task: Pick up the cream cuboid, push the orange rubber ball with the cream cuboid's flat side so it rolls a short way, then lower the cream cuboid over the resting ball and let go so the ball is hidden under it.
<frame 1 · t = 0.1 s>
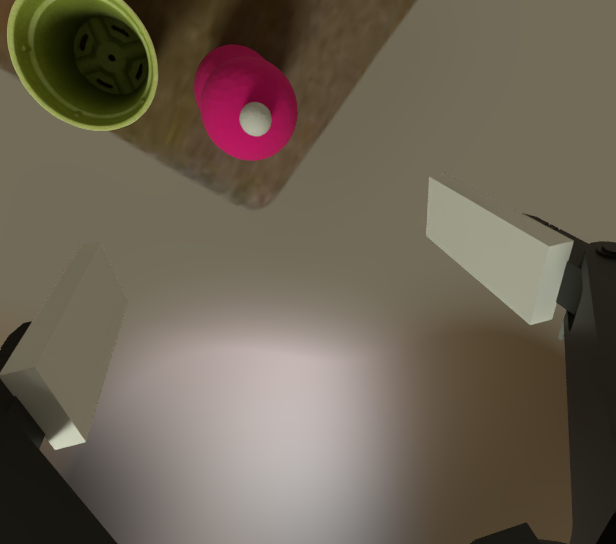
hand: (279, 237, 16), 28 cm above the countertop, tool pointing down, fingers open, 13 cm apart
pepper mill: (233, 87, 38), on the countertop
plant pot: (112, 56, 34), on the countertop
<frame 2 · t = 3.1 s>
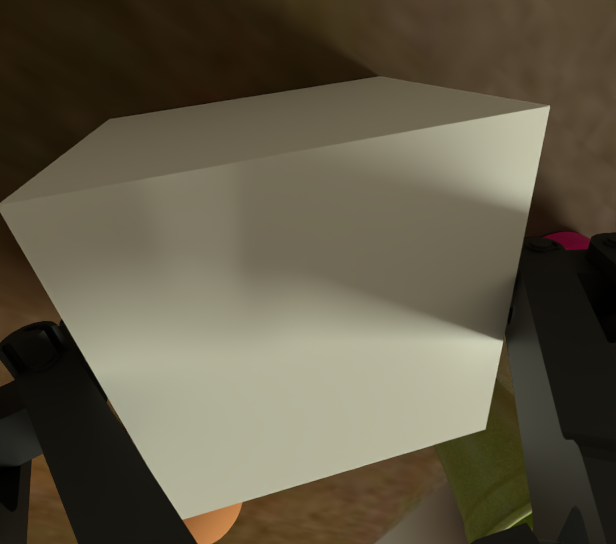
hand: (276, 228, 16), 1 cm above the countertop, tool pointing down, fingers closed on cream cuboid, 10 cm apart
pepper mill: (539, 277, 23), on the countertop
plant pot: (462, 405, 28), on the countertop
ball: (198, 493, 21), on the countertop
cream cuboid: (273, 221, 17), on the countertop, touching gripper
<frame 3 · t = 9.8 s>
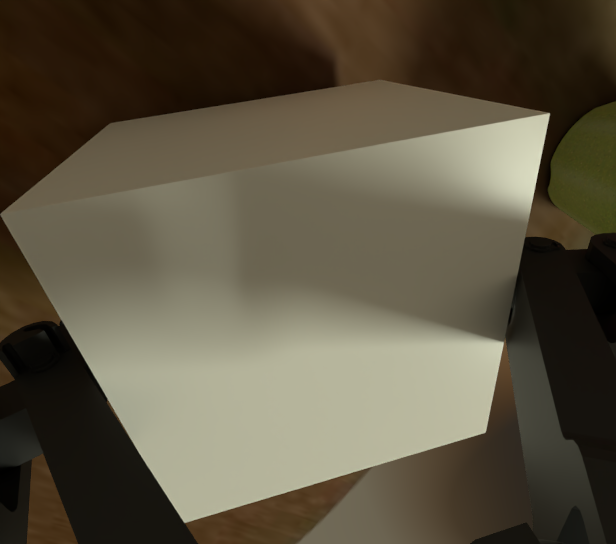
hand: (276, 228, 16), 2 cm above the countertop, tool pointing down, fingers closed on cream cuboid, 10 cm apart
plant pot: (590, 159, 21), on the countertop
cream cuboid: (273, 224, 17), point 1 cm above the countertop, touching gripper
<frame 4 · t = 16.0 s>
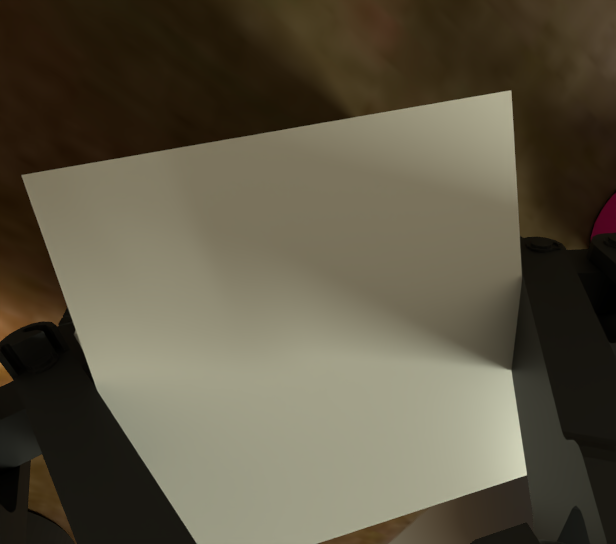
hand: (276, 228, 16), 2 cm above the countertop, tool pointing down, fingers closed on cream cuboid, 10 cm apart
cream cuboid: (284, 276, 18), point 2 cm above the countertop, tilted 19°, touching ball, gripper
when the fingers open (2 cm above the countertop, at t = 16.5 s): cream cuboid drops 2 cm, on the countertop.
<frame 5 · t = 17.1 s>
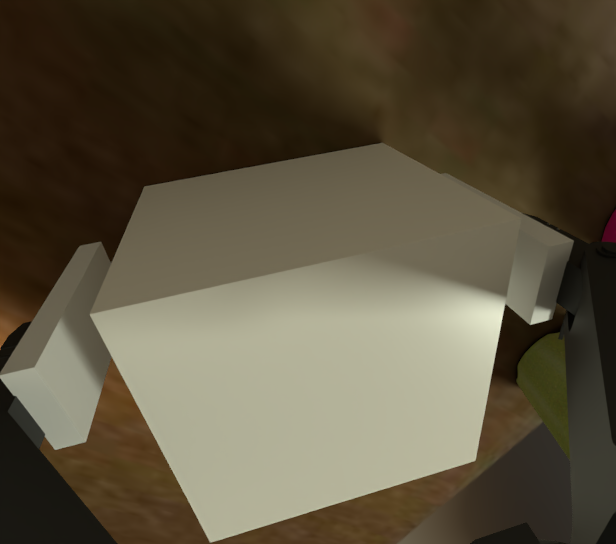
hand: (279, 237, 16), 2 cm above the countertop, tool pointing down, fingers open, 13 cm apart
plant pot: (549, 356, 28), on the countertop
cream cuboid: (286, 266, 19), on the countertop
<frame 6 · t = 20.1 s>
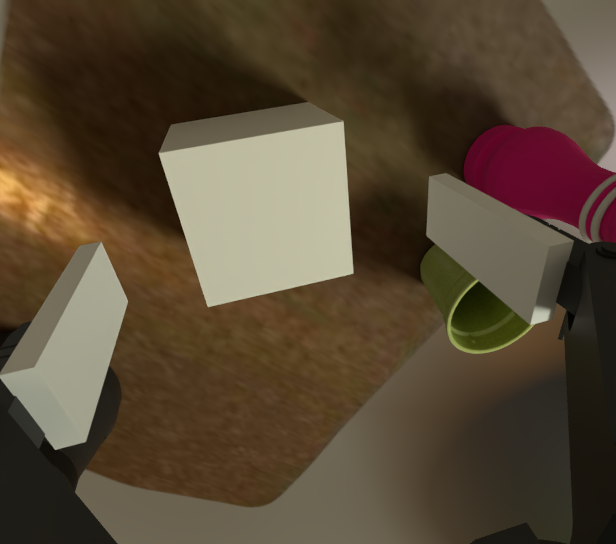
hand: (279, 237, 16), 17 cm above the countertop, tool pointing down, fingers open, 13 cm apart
pepper mill: (492, 159, 35), on the countertop
plant pot: (444, 262, 40), on the countertop
cream cuboid: (254, 180, 31), on the countertop
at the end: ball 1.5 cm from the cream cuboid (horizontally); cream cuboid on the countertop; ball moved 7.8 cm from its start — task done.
